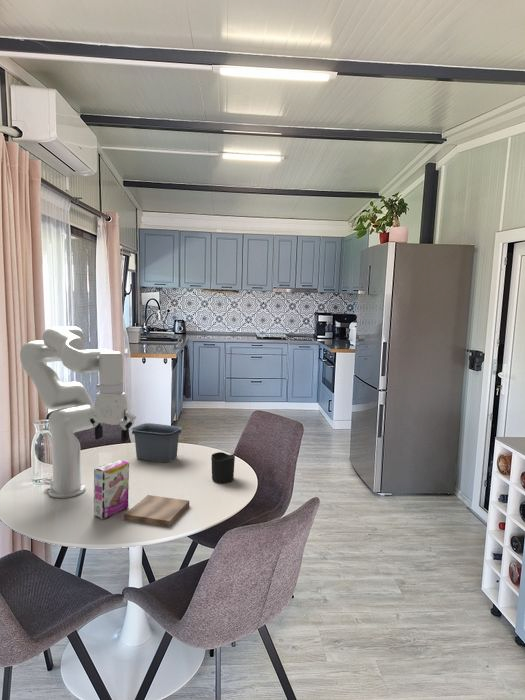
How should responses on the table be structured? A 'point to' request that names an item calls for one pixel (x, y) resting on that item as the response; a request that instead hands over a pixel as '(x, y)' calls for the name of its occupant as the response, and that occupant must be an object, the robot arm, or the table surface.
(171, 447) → the storage bin
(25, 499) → the table surface
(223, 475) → the pen holder
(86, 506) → the table surface
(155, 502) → the walnut board
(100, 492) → the candy bar box
